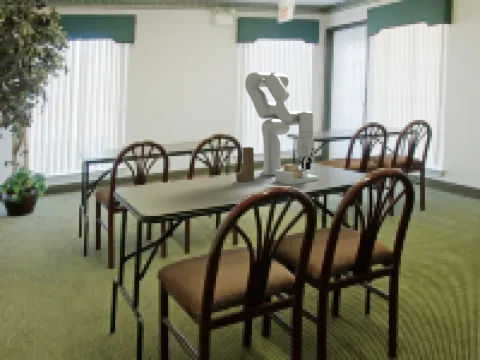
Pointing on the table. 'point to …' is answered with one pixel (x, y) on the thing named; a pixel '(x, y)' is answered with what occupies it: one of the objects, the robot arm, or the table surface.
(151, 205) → the table surface
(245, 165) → the wooden block
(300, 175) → the slide jaw
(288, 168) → the maple block
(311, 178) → the vise base
